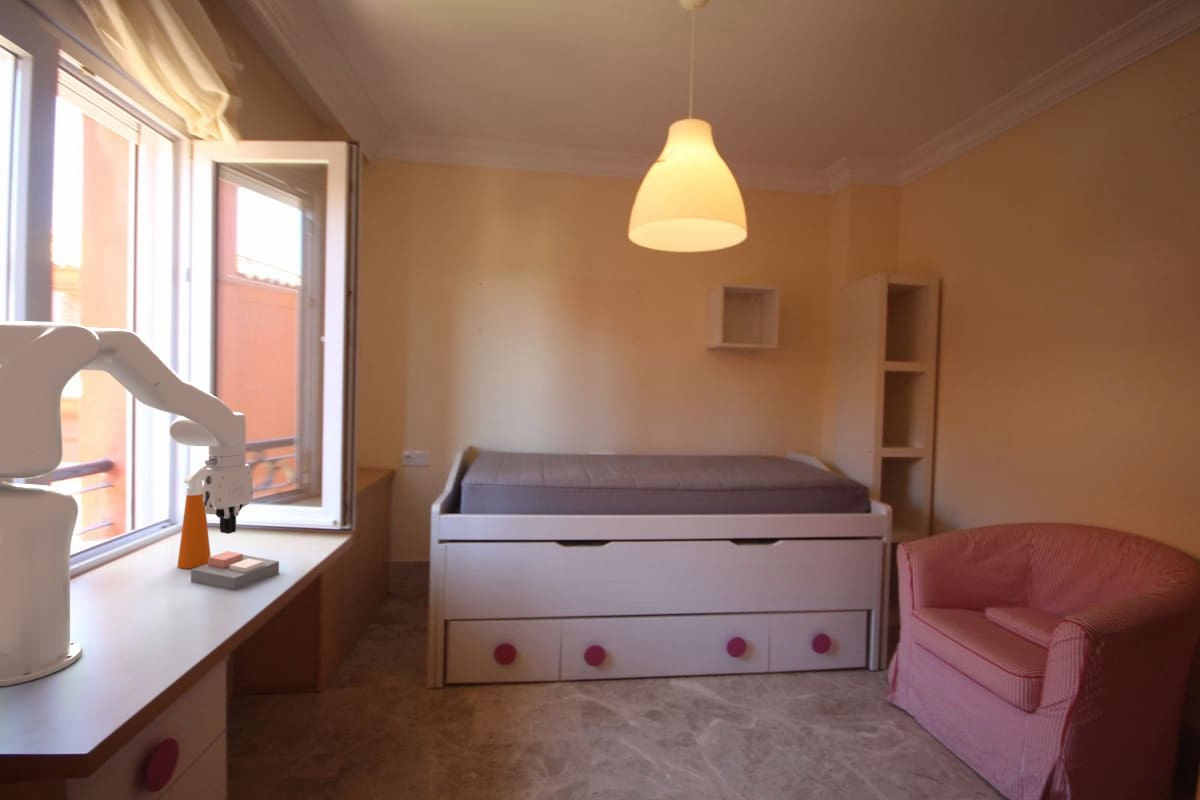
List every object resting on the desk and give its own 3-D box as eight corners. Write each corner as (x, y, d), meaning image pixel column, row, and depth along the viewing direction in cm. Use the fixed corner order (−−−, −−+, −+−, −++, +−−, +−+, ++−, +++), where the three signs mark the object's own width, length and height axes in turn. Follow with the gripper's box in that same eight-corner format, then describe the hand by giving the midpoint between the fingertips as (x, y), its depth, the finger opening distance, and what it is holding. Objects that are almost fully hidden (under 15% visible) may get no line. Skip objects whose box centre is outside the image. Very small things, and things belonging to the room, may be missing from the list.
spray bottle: (227, 555, 144) (228, 462, 143) (198, 569, 133) (199, 469, 132) (201, 554, 144) (202, 461, 143) (170, 568, 133) (171, 468, 132)
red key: (223, 569, 127) (223, 560, 127) (208, 566, 129) (208, 557, 129) (242, 562, 132) (242, 553, 132) (227, 560, 134) (228, 551, 133)
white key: (245, 577, 125) (245, 568, 125) (229, 574, 127) (229, 565, 127) (263, 570, 130) (263, 561, 130) (248, 567, 132) (248, 558, 131)
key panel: (234, 590, 122) (234, 578, 122) (190, 581, 126) (191, 569, 126) (278, 572, 133) (278, 561, 133) (237, 564, 137) (237, 553, 137)
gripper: (208, 467, 121) (209, 543, 122) (266, 457, 136) (266, 525, 137) (185, 464, 123) (186, 539, 124) (244, 455, 138) (244, 522, 139)
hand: (228, 532), depth 131 cm, fingers closed
